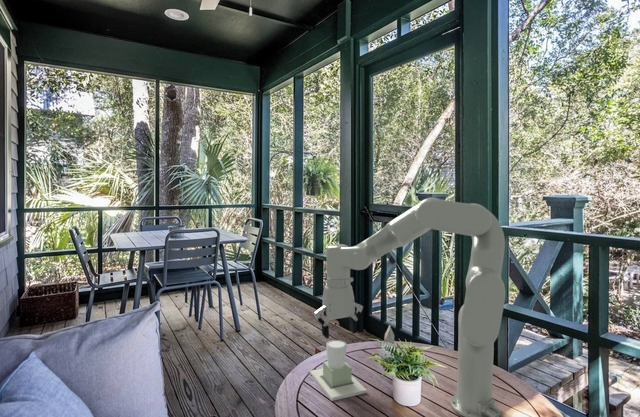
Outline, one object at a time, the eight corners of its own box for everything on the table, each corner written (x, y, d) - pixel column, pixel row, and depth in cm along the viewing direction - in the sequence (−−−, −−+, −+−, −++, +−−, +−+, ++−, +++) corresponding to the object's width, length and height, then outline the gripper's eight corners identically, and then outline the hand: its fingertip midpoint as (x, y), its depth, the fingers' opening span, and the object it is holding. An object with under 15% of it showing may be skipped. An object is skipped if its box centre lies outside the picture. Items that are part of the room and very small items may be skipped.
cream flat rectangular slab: (366, 392, 117) (366, 389, 117) (331, 401, 112) (331, 397, 112) (340, 367, 134) (340, 364, 134) (309, 373, 129) (309, 370, 129)
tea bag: (393, 349, 149) (394, 325, 149) (393, 356, 143) (394, 331, 142) (384, 348, 150) (385, 324, 149) (383, 355, 143) (384, 330, 143)
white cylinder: (347, 360, 126) (347, 340, 125) (346, 370, 119) (346, 349, 118) (326, 359, 126) (327, 339, 126) (324, 369, 120) (324, 347, 119)
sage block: (351, 382, 121) (351, 367, 121) (331, 386, 118) (332, 371, 118) (341, 372, 127) (342, 358, 127) (323, 376, 125) (323, 361, 125)
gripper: (356, 277, 128) (357, 326, 129) (309, 283, 121) (310, 335, 122) (367, 282, 121) (368, 334, 122) (318, 288, 114) (319, 343, 115)
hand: (339, 334), depth 122 cm, fingers open, 9 cm apart
